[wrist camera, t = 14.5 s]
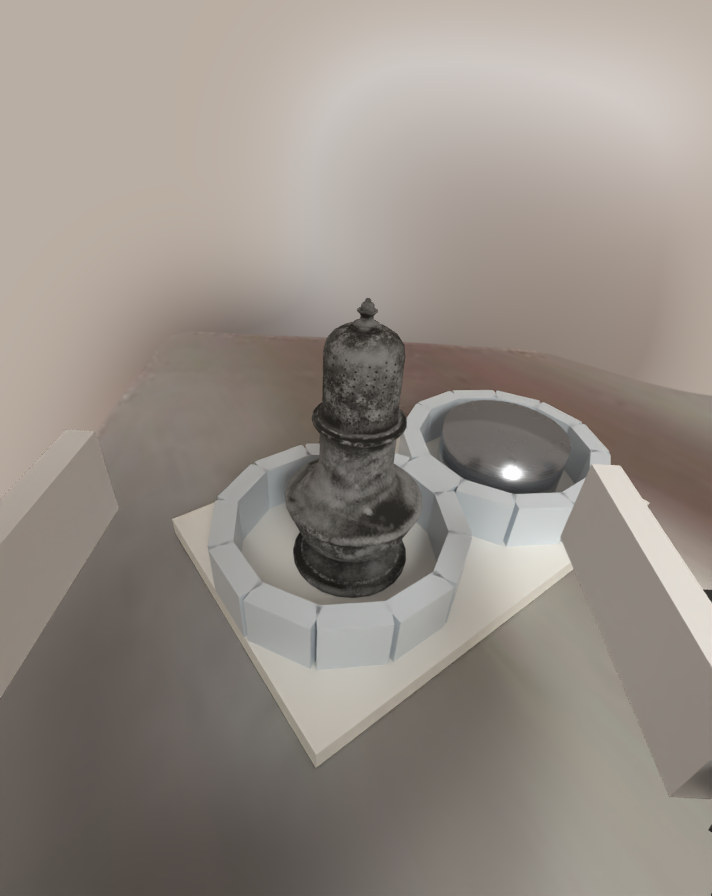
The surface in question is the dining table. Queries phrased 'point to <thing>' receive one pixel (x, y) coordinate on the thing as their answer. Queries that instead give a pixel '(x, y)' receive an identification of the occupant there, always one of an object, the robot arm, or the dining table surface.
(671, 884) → the dining table surface
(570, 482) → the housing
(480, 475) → the grey metallic domed disc
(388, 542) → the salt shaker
